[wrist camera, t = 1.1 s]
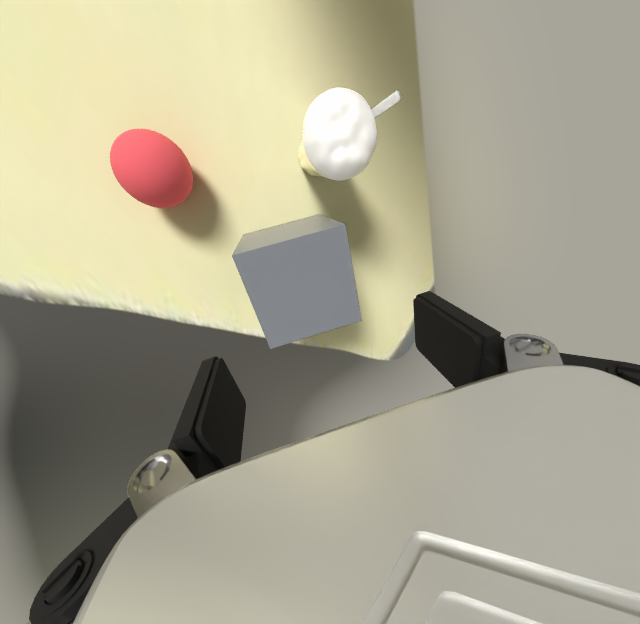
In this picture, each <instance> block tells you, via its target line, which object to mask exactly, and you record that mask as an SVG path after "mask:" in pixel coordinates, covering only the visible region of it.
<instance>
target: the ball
mask: <svg viewBox="0 0 640 624" xmlns="http://www.w3.org/2000/svg"><path fill="white" fill-rule="evenodd" d="M110 161H111V166H112V170H113V173H114V175H115V177H116V179H117V180H118V182H119V183H120V185H121V186H122V187H123V188H124V189H125V190H126V192H128V193H129V194H130V195H131V196H132V197H134V198H135V199H137V200H138V201H140V202H142V203H144V204H147V205H149V206H152V207H157V208H170V207H174V206H177V205H179V204H181V203H182V202H183V201H185V200H186V199H187V197H188V196H189V194H190V192H191V190H192V186H193V173H192V169H191V166H190V164H189V162H188V159H187V158H186V156H185V154H184V153H183V152H182V150H181V149H180V148H179V147H178V146H177V145H176V144H175V143H174V142H172V141H171V140H170V139H168V138H167V137H165V136H164V135H162V134H160V133H157V132H155V131H151V130H147V129H132V130H129V131H126V132H124V133H122V134H121V135H120V136H118V137H117V139H116V140H115V141H114V143H113V145H112V148H111V152H110Z"/></svg>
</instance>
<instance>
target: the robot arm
mask: <svg viewBox="0 0 640 624" xmlns="http://www.w3.org/2000/svg"><path fill="white" fill-rule="evenodd" d="M414 323H415V343H416V347H417V349H418V350H419V351H420V352H421V353H422V354H423V355H424V356H425V357H426V358H427V359H428V361H430V363H432V365H433V366H434V367H436V369H437V370H438V371H439V372H440V373H441V374H442V375H443V376H444V377H445V378H446V379H447V380H448V381H449V382H450V383H451V384H452V385H453V386H454V387H455V388H453V389H450V390H448V391H445V392H441V393H438V394H436V395H432V396H429V397H427V398H424V399H421V400H417V401H415V402H412V403H409V404H405V405H403V406H400V407H397V408H394V409H391V410H388V411H385V412H382V413H379V414H376V415H373V416H370V417H367V418H364V419H361V420H358V421H355V422H352V423H350V424H347V425H344V426H341V427H338V428H335V429H332V430H329V431H326V432H323V433H320V434H318V435H315V436H312V437H309V438H306V439H303V440H300V441H297V442H295V443H292V444H289V445H286V446H283V447H280V448H277V449H275V450H272V451H269V452H266V453H263V454H260V455H258V456H255V457H252V458H249V459H246V460H244V461H241V462H240V460H241V449H242V440H243V430H244V420H245V409H246V403H245V399H244V397H243V396H242V394H241V392H240V390H239V388H238V386H237V384H236V383H235V381H234V379H233V377H232V375H231V373H230V371H229V370H228V368H227V366H226V364H225V362H224V360H223V359H222V358H220V359H219V358H218V357H213V358H210V359H206V360H203V361H202V363H201V366H200V368H199V371H198V373H197V376H196V379H195V381H194V384H193V386H192V389H191V391H190V394H189V397H188V399H187V401H186V404H185V406H184V409H183V411H182V414H181V417H180V419H179V422H178V424H177V427H176V429H175V432H174V434H173V437H172V440H171V442H170V445H169V447H168V450H163V451H160V452H158V453H156V454H154V455H152V456H151V457H149V458H148V459H147V460H145V461H144V462H143V463H142V464H141V465H140V466H139V467H138V469H137V470H136V471H135V473H134V474H133V475H132V477H131V479H130V481H129V484H128V487H127V492H128V496H129V498H128V499H127V500H126V501H125V502H123V503H122V504H121V505H120V506H119V507H118V508H117V509H116V510H115V511H114V512H113V513H112V514H111V515H110V516H109V517H108V518H107V519H106V520H105V521H104V522H103V523H102V524H101V525H100V526H98V527H97V528H96V529H95V530H94V531H93V532H92V533H91V534H90V535H89V536H88V537H87V538H86V539H85V540H84V541H83V542H82V543H81V544H80V545H79V546H78V547H76V548H75V549H74V550H73V551H72V552H71V553H70V554H69V555H68V556H67V557H66V558H65V559H64V560H63V561H62V562H61V563H60V564H59V565H58V566H57V568H55V569H54V570H53V572H52V573H51V574H50V575H49V577H48V578H47V579H46V581H45V582H44V584H43V585H42V586H41V588H40V590H39V591H38V593H37V595H36V597H35V598H34V601H33V604H32V606H31V609H30V617H29V621H28V622H27V623H26V624H640V365H637V364H632V363H627V362H620V361H613V360H606V359H598V358H591V357H585V356H577V355H571V354H564V353H559V352H558V350H557V348H556V346H555V345H554V344H553V343H551V342H550V341H548V340H547V339H544V338H542V337H539V336H535V335H529V334H516V335H511V336H509V337H507V338H506V339H504V338H502V337H501V336H500V335H501V333H500V332H499V331H497V330H495V329H494V328H492V327H490V326H489V325H487V324H485V323H483V322H482V321H480V320H478V319H477V318H475V317H473V316H472V315H470V314H468V313H466V312H464V311H463V310H461V309H460V308H458V307H456V306H454V305H453V304H451V303H449V302H448V301H446V300H444V299H442V298H441V297H439V296H437V295H436V294H434V293H432V292H430V291H428V292H424V293H421V294H418V295H417V296H416V298H415V299H414Z"/></svg>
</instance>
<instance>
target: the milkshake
mask: <svg viewBox="0 0 640 624" xmlns="http://www.w3.org/2000/svg"><path fill="white" fill-rule="evenodd" d="M401 99H402V97H401V93H400V90H399V89H398V90H396V91H395V92H394V93H392V94H391V95H390V96H388V97H387V98H386V99H384V100H383V101H382V102H380V103H379V104H378V105H376V106H375V107H374V108H372V109H371V108H370V107H369V105H368V103H367V102H366V100H365V99H364V98H363V97H362V96H361V95H360V94H359V93H357V92H356V91H353V90H351V89H348V88H342V87H336V88H332V89H329V90H327V91H325V92H324V93H322V94H320V95H319V96H318V97H317V98H316V99H315V100H314V101H313V102H312V104H311V105H310V107H309V109H308V111H307V113H306V115H305V119H304V124H303V132H302V139H301V143H300V147H299V151H298V155H299V160H300V164H301V167H302V168H303V169H304V170H305V171H306V172H307V173H308V174H309V175H315V176H322V177H325V178H329V179H332V180H337V181H342V180H347V179H350V178H352V177H354V176H355V175H357V174H359V173H360V172H361V171H362V170H363V169H364V168H365V167H366V166H367V165H368V163H369V161H370V159H371V156H372V154H373V151H374V149H375V145H376V140H377V129H376V123H375V119H374V118H376V117H377V116H379V115H380V114H381V113H383V112H384V111H386V110H387V109H388V108H390V107H391V106H393V105H394V104H396V103H397V102H398V101H400V100H401Z"/></svg>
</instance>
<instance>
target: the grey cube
mask: <svg viewBox="0 0 640 624" xmlns="http://www.w3.org/2000/svg"><path fill="white" fill-rule="evenodd" d="M232 257H233V259H234V261H235V264H236V266H237V269H238V271H239V274H240V276H241V279H242V281H243V283H244V286H245V288H246V291H247V293H248V296H249V298H250V300H251V303H252V305H253V308H254V310H255V313H256V315H257V318H258V320H259V322H260V325H261V327H262V330H263V332H264V335H265V337H266V339H267V342H268V344H269V347H270V349H271V348H274V347H277V346H281V345H284V344H288V343H291V342H294V341H297V340H301V339H304V338H307V337H310V336H314V335H317V334H320V333H323V332H327V331H330V330H333V329H336V328H340V327H343V326H346V325H349V324H353V323H356V322H359V321H362V320H361V314H360V308H359V302H358V296H357V290H356V284H355V278H354V272H353V266H352V260H351V254H350V248H349V242H348V237H347V231H346V225H345V224H344V223H341V222H339V221H336V220H334V219H331V218H328V217H326V216H323V215H321V214H318V215H314V216H311V217H307V218H303V219H300V220H296V221H292V222H289V223H285V224H281V225H277V226H274V227H270V228H266V229H263V230H259V231H255V232H252V233H248V234H244V235H243V237H242V238H241V240H240V242H239V244H238V246H237V247H236V249H235V251H234V253H233V255H232Z"/></svg>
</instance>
